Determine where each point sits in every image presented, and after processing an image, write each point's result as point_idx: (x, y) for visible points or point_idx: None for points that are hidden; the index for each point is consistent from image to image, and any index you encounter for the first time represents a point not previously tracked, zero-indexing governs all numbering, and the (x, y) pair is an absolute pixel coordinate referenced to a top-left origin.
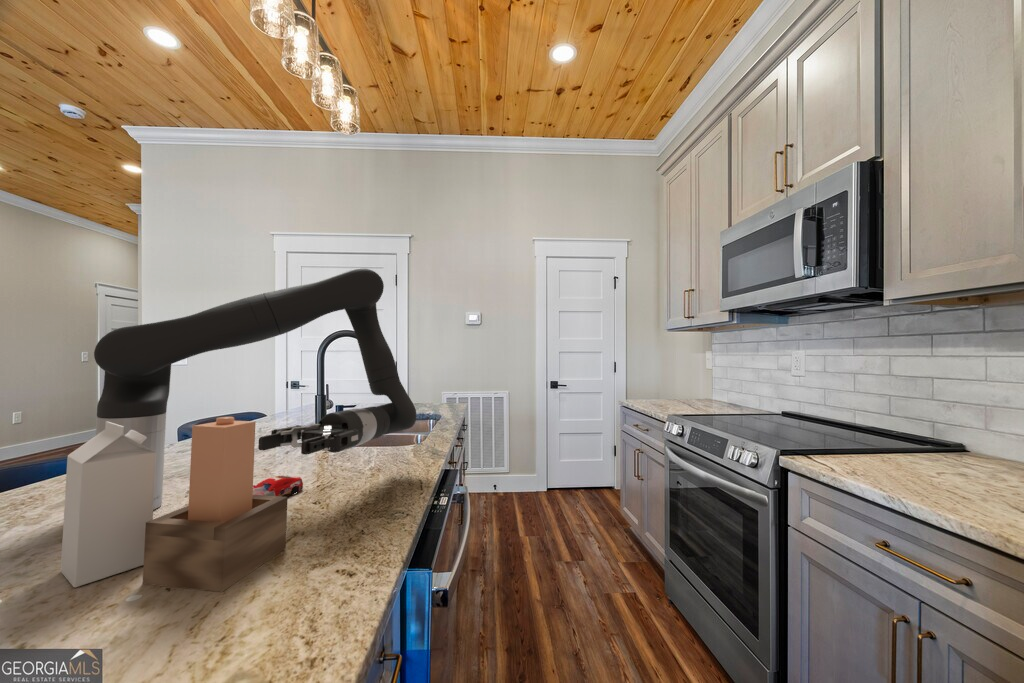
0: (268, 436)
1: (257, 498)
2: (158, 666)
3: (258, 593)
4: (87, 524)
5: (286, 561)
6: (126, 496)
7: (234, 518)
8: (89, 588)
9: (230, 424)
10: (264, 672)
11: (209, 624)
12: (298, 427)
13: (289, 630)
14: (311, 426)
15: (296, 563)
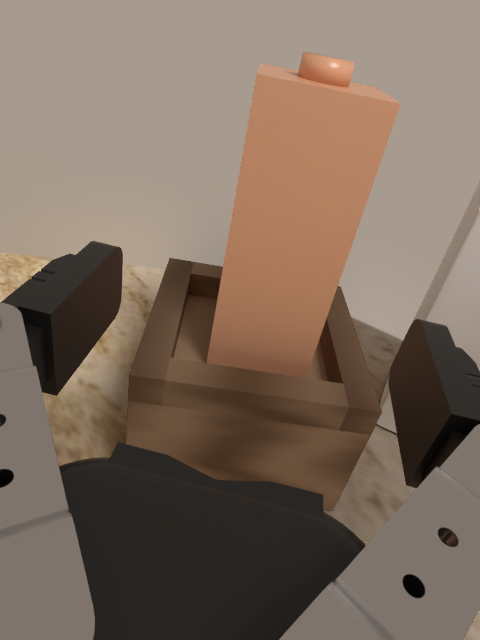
0: (427, 342)
1: (222, 369)
2: (138, 270)
3: (96, 346)
4: (427, 292)
5: (91, 428)
6: (438, 280)
7: (184, 283)
8: (374, 370)
9: (291, 73)
10: (22, 256)
11: (128, 304)
12: (446, 516)
13: (13, 289)
14: (328, 594)
15: (62, 420)
